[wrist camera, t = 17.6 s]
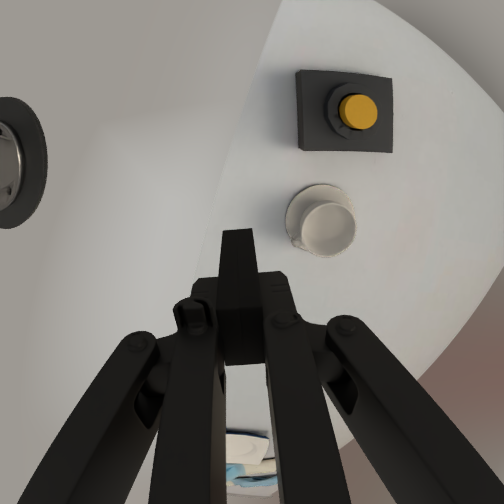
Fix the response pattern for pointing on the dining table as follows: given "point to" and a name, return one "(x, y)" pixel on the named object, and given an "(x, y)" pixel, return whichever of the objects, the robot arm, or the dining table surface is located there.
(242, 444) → the plate
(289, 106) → the dining table surface
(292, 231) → the teacup
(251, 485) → the rubber gloves
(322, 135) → the yellow button cap base
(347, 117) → the yellow button cap
